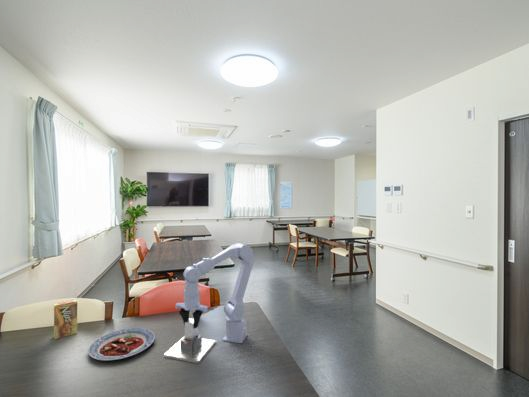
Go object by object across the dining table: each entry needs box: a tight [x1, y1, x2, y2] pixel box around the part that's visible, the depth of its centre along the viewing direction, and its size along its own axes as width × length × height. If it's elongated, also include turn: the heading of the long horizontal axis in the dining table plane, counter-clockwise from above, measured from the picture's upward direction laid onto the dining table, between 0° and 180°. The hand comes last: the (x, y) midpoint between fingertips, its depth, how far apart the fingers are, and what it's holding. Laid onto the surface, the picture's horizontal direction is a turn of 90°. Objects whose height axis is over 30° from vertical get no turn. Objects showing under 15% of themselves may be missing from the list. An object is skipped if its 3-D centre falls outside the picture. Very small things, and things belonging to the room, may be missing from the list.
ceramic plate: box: [87, 327, 156, 361], centre depth 118 cm, size 26×26×3 cm
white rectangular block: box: [184, 318, 199, 341], centre depth 116 cm, size 4×4×8 cm
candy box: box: [53, 299, 78, 340], centre depth 128 cm, size 9×4×15 cm, turn 129°
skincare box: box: [183, 289, 201, 319], centre depth 147 cm, size 8×6×15 cm
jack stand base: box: [163, 333, 217, 364], centre depth 116 cm, size 16×16×5 cm
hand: (191, 326), depth 116 cm, fingers closed on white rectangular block, 4 cm apart
